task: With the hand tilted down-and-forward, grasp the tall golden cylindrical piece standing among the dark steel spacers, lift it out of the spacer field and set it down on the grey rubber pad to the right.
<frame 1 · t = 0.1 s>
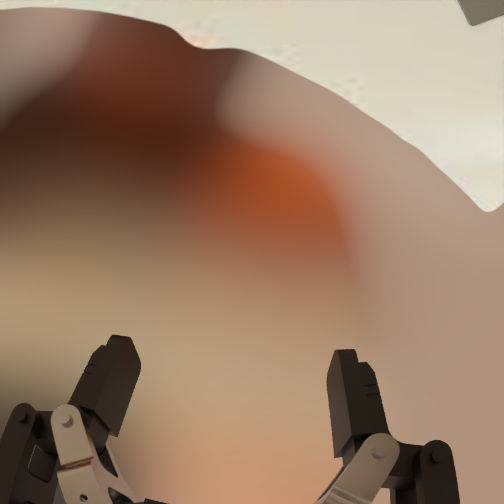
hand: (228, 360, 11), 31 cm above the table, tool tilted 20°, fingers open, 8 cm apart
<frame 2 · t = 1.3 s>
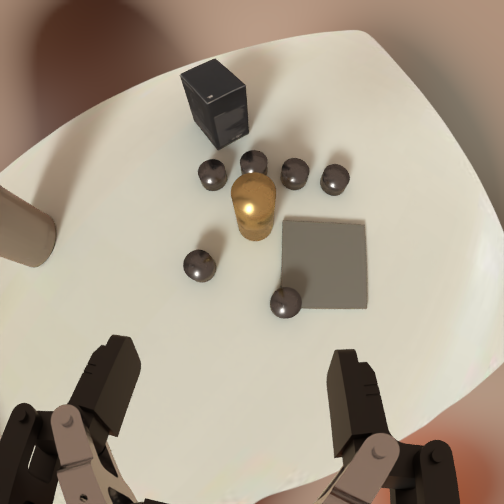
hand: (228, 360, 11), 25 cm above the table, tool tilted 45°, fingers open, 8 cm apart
spacers: (255, 224, 38), on the table
box: (220, 127, 42), on the table
golden cylindrical piece: (255, 224, 38), on the table
pad: (324, 265, 36), on the table
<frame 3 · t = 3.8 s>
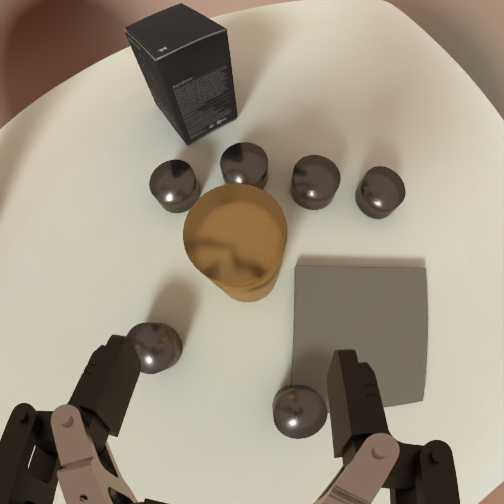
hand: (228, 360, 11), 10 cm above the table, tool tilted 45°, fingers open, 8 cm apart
spacers: (247, 272, 22), on the table
box: (194, 110, 26), on the table
golden cylindrical piece: (247, 272, 22), on the table
pad: (364, 339, 20), on the table
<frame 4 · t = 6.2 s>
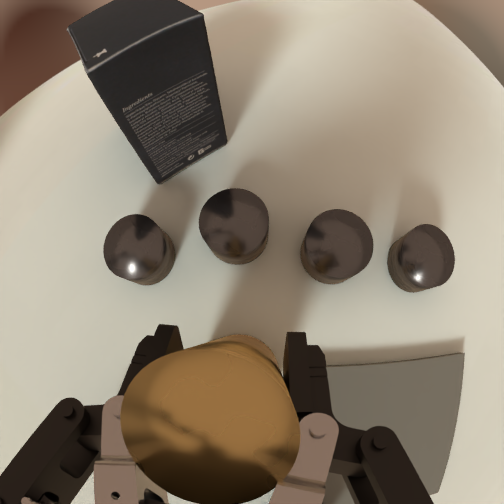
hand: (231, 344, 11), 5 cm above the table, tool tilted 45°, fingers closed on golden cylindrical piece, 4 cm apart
spacers: (239, 372, 15), on the table
box: (171, 132, 20), on the table
golden cylindrical piece: (238, 372, 15), on the table, touching gripper
pad: (382, 443, 14), on the table
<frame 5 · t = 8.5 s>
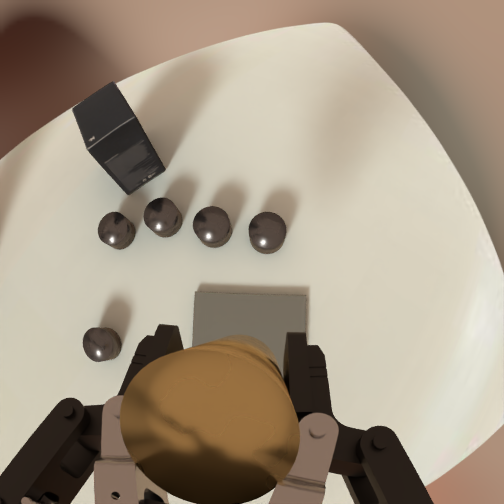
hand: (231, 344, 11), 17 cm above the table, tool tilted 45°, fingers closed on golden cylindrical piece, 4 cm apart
spacers: (163, 294, 29), on the table
box: (136, 163, 34), on the table
golden cylindrical piece: (239, 372, 15), point 13 cm above the table, touching gripper
pad: (248, 349, 28), on the table
when the fingers open (6 cm above the table, at t = 10.9 s): golden cylindrical piece drops 1 cm, resting on pad.
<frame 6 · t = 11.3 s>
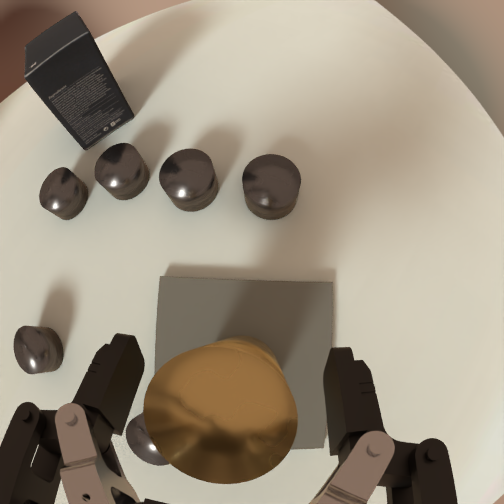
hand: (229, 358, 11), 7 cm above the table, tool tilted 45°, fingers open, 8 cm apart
spacers: (117, 281, 19), on the table
box: (101, 113, 23), on the table
golden cylindrical piece: (241, 370, 17), point 1 cm above the table, touching pad
pad: (241, 367, 17), on the table
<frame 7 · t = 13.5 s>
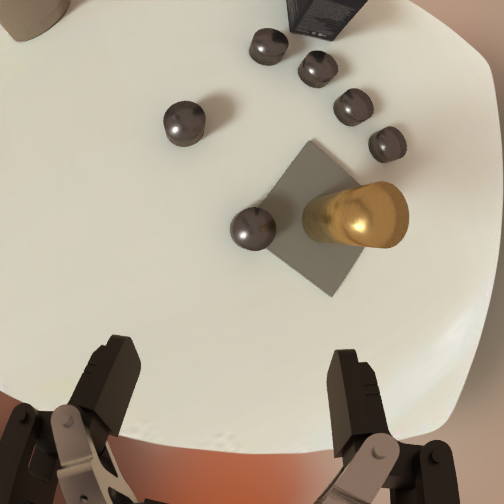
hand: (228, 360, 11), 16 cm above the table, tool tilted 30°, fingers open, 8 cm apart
spacers: (276, 123, 27), on the table
box: (307, 17, 27), on the table
golden cylindrical piece: (322, 220, 27), point 1 cm above the table, touching pad
pad: (320, 218, 28), on the table
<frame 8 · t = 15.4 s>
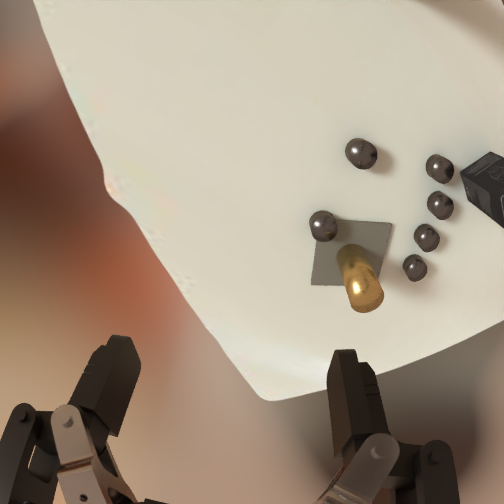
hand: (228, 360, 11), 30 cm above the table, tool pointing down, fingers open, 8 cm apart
spacers: (391, 200, 38), on the table
box: (479, 175, 34), on the table
golden cylindrical piece: (350, 256, 42), point 1 cm above the table, touching pad
pad: (350, 253, 42), on the table
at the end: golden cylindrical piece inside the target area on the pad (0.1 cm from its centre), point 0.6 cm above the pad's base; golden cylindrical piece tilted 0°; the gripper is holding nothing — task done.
